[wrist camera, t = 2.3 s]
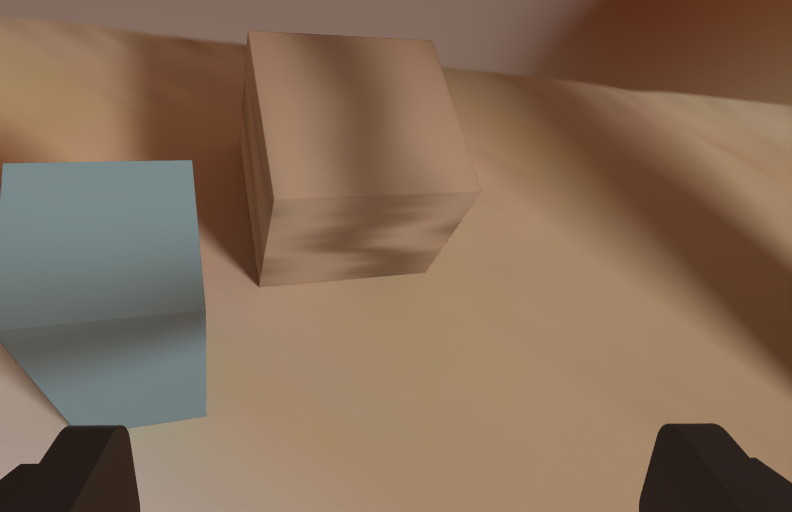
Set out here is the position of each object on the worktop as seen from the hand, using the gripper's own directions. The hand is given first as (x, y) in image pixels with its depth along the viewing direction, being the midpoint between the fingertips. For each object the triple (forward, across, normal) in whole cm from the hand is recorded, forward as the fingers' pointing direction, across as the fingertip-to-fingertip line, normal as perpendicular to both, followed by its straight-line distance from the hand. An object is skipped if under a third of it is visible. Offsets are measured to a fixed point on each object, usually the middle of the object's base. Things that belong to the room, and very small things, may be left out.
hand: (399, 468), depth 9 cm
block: (+25, +2, +4) cm, 25 cm away
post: (+16, +10, +9) cm, 21 cm away
